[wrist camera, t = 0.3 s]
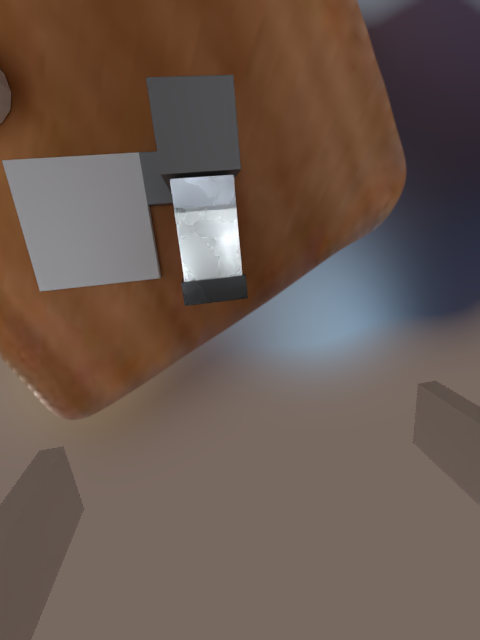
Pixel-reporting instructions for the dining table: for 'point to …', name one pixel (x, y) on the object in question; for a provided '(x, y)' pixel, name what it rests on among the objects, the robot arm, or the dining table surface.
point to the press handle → (208, 239)
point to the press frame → (123, 187)
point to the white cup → (4, 97)
